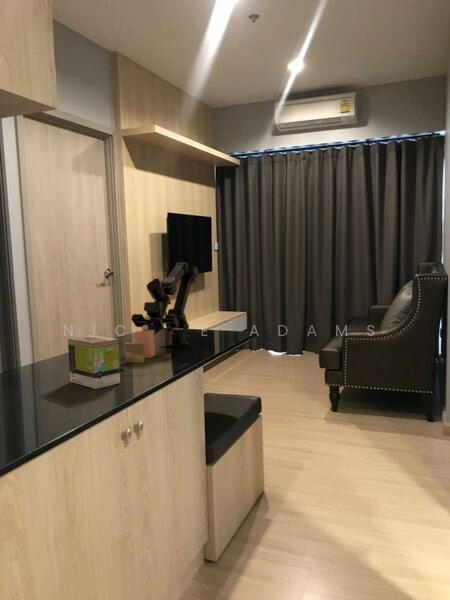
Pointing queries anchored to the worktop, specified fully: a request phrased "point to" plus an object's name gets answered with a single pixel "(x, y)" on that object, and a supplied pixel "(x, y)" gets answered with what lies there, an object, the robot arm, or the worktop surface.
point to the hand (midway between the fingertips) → (148, 338)
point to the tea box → (94, 361)
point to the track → (134, 352)
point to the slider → (147, 341)
